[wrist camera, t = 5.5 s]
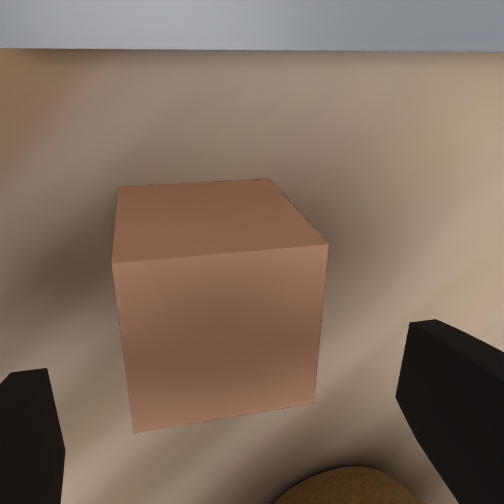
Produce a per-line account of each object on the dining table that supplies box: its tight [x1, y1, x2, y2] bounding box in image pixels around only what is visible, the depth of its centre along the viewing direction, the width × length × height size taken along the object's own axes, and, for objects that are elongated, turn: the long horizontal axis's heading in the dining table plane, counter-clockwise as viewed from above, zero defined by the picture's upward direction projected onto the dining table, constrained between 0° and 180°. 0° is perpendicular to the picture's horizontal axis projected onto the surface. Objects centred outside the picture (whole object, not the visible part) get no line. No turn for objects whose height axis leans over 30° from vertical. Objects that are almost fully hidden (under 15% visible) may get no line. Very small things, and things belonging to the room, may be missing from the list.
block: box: [111, 179, 329, 433], centre depth 13 cm, size 4×4×5 cm
